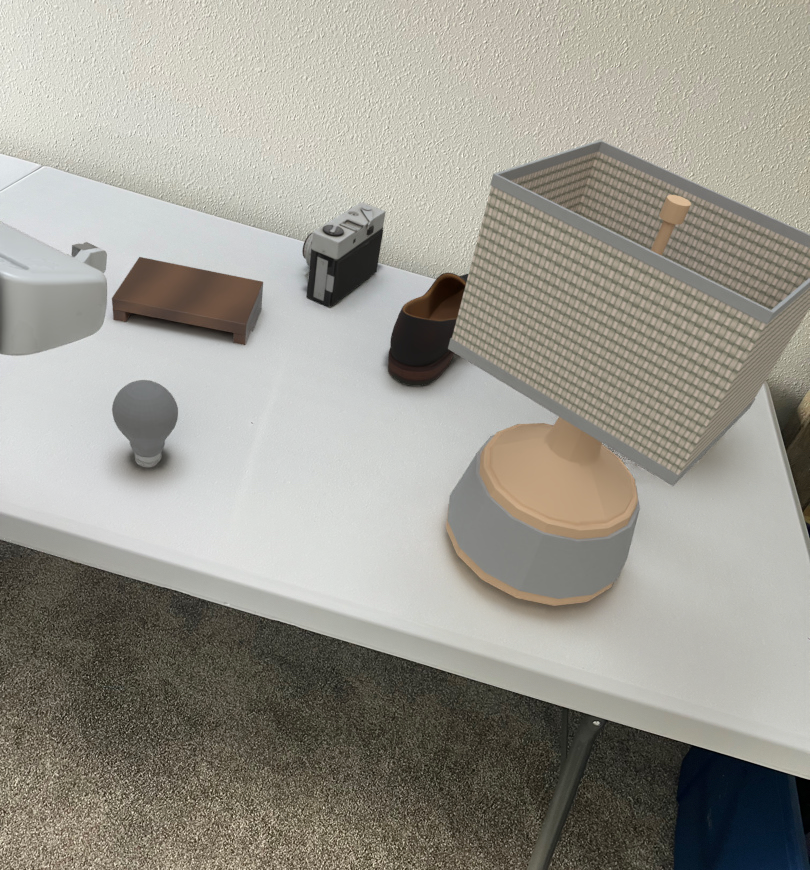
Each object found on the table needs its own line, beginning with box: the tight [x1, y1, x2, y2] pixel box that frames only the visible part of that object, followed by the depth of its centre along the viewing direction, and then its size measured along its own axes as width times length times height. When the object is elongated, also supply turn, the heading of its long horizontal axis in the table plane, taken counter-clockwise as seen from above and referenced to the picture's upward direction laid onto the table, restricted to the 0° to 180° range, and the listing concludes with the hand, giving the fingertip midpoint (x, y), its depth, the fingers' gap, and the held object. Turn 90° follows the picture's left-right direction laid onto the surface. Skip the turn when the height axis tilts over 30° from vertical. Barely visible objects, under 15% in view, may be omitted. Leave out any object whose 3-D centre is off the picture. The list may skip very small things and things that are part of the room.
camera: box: [301, 201, 387, 309], centre depth 110 cm, size 14×8×10 cm, turn 154°
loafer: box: [387, 272, 469, 387], centre depth 104 cm, size 10×28×10 cm, turn 154°
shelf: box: [111, 256, 264, 346], centre depth 99 cm, size 16×11×4 cm
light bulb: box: [111, 379, 179, 468], centre depth 76 cm, size 6×6×10 cm
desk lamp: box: [445, 139, 810, 607], centre depth 69 cm, size 22×19×37 cm
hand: (44, 230), depth 55 cm, fingers open, 8 cm apart
